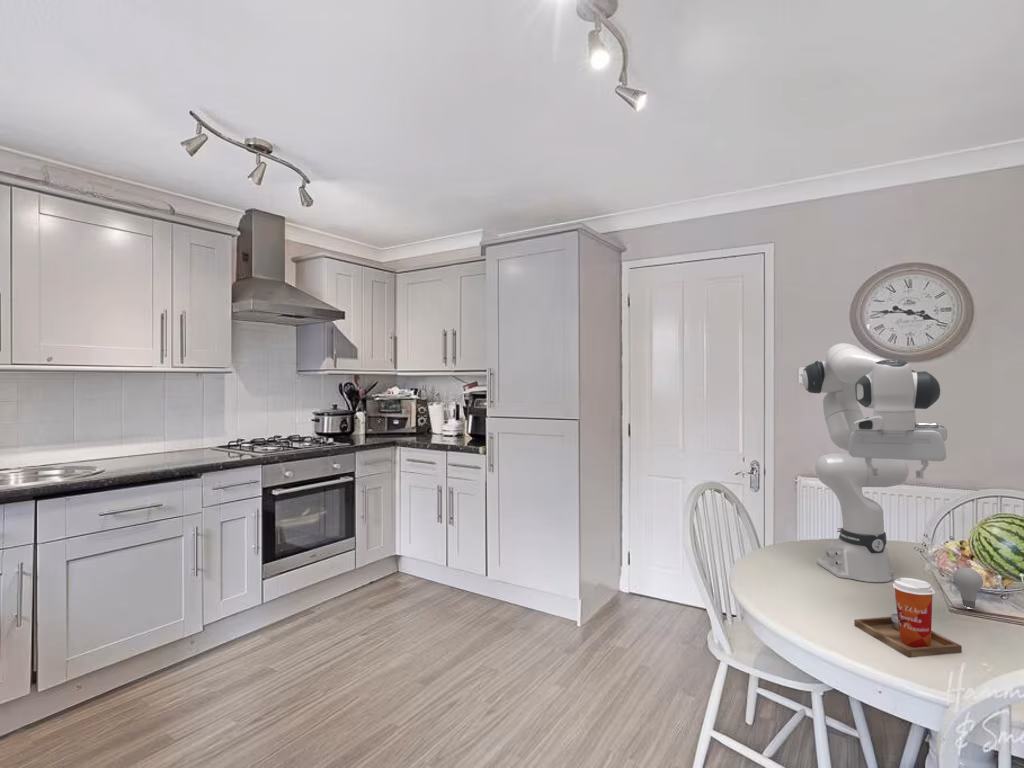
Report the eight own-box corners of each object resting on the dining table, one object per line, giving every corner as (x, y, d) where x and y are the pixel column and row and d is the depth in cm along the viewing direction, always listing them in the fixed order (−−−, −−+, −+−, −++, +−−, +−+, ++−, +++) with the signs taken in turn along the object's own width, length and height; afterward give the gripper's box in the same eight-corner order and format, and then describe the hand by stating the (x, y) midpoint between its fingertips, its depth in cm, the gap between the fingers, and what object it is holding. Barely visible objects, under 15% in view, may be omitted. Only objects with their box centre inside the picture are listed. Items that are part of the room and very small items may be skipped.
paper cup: (889, 641, 124) (886, 581, 124) (903, 632, 128) (900, 574, 129) (929, 655, 118) (926, 591, 118) (942, 644, 122) (940, 583, 122)
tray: (854, 627, 133) (854, 619, 133) (902, 624, 134) (901, 615, 134) (908, 659, 117) (908, 650, 117) (961, 655, 118) (961, 645, 118)
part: (888, 626, 132) (887, 614, 132) (901, 625, 132) (901, 613, 132) (900, 632, 128) (899, 620, 129) (913, 631, 129) (913, 619, 129)
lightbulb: (976, 605, 144) (974, 564, 144) (989, 614, 138) (987, 572, 138) (949, 603, 145) (947, 563, 146) (961, 613, 140) (960, 571, 140)
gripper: (946, 422, 132) (948, 478, 132) (849, 421, 145) (852, 472, 145) (946, 424, 127) (949, 481, 127) (846, 423, 140) (848, 475, 140)
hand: (896, 476), depth 136 cm, fingers open, 8 cm apart
